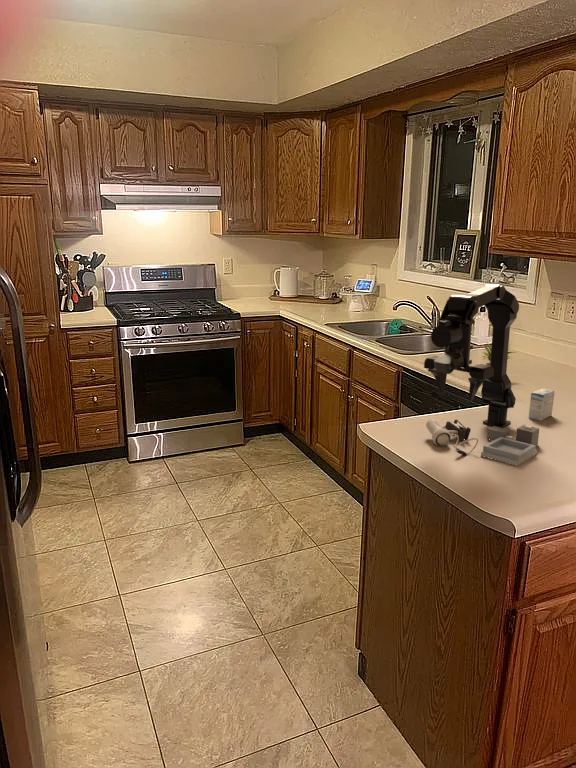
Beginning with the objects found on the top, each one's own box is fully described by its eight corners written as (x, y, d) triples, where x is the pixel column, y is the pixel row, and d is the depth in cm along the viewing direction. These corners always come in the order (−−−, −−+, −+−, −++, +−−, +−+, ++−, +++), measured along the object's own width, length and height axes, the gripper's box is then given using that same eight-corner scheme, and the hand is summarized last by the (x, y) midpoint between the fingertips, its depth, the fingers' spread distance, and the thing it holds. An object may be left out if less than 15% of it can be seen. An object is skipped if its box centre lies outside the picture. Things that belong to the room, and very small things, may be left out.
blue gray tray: (501, 444, 171) (502, 435, 171) (536, 453, 165) (537, 444, 164) (480, 456, 163) (481, 446, 163) (516, 466, 156) (517, 456, 156)
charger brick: (522, 441, 175) (524, 422, 173) (537, 445, 171) (539, 426, 170) (515, 445, 171) (517, 426, 170) (530, 449, 168) (532, 430, 167)
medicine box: (538, 413, 200) (541, 387, 198) (552, 415, 197) (555, 390, 195) (528, 418, 195) (530, 392, 193) (541, 421, 192) (544, 395, 190)
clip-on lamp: (483, 464, 166) (456, 430, 181) (490, 444, 163) (461, 411, 179) (444, 464, 163) (419, 429, 179) (450, 444, 160) (424, 410, 176)
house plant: (490, 385, 234) (493, 344, 229) (466, 377, 246) (469, 338, 242) (518, 381, 239) (522, 341, 235) (493, 374, 251) (496, 335, 247)
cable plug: (492, 437, 178) (493, 425, 177) (514, 442, 174) (515, 431, 173) (486, 440, 176) (487, 428, 175) (509, 445, 171) (510, 434, 170)
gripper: (413, 341, 165) (410, 396, 169) (473, 351, 151) (469, 410, 155) (437, 335, 172) (434, 388, 176) (497, 345, 158) (492, 402, 162)
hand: (455, 397), depth 167 cm, fingers open, 9 cm apart
